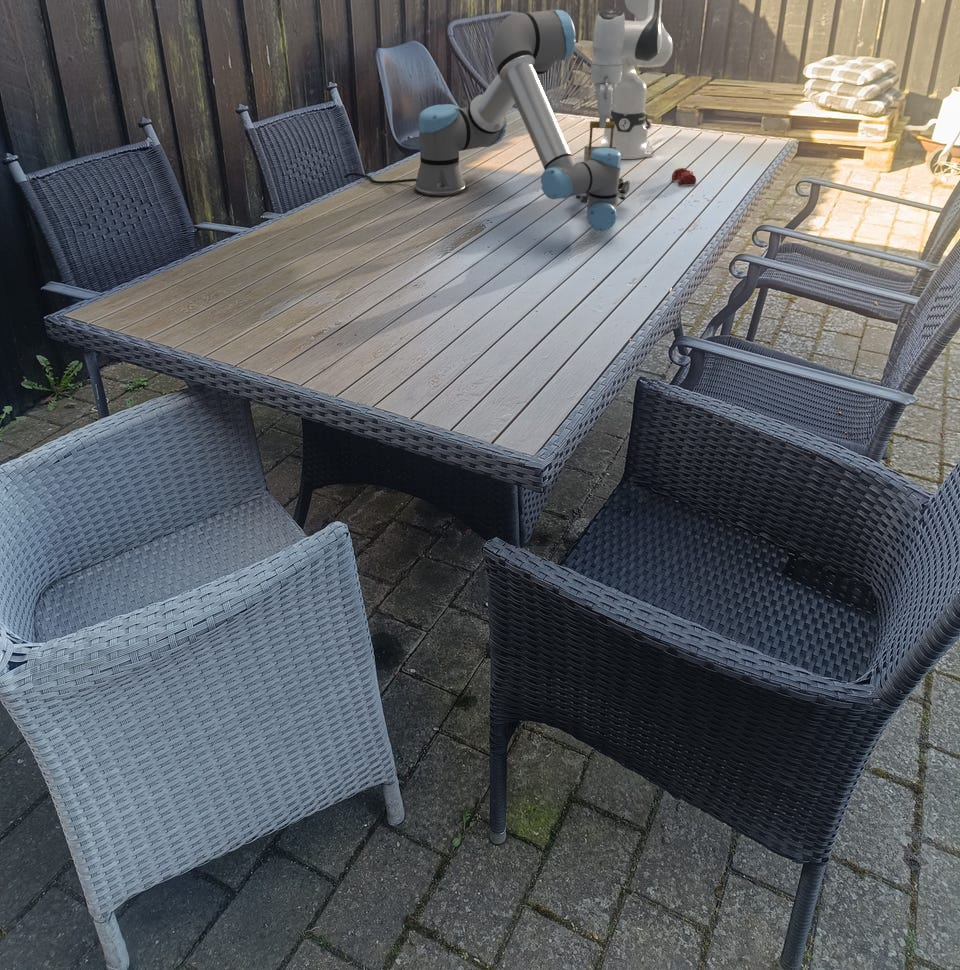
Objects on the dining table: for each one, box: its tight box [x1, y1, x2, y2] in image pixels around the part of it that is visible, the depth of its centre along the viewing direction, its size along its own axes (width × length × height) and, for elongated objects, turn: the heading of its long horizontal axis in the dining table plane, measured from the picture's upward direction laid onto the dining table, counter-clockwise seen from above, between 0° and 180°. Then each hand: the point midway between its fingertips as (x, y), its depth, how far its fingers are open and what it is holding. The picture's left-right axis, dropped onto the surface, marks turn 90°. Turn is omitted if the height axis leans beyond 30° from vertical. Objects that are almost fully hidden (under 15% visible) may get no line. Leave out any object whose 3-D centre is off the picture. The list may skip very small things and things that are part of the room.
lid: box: [583, 120, 616, 161], centre depth 247 cm, size 17×9×9 cm, turn 174°
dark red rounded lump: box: [671, 167, 697, 186], centre depth 263 cm, size 6×4×8 cm
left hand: (599, 177), depth 247 cm, fingers closed on chest, 9 cm apart
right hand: (602, 125), depth 250 cm, fingers closed
